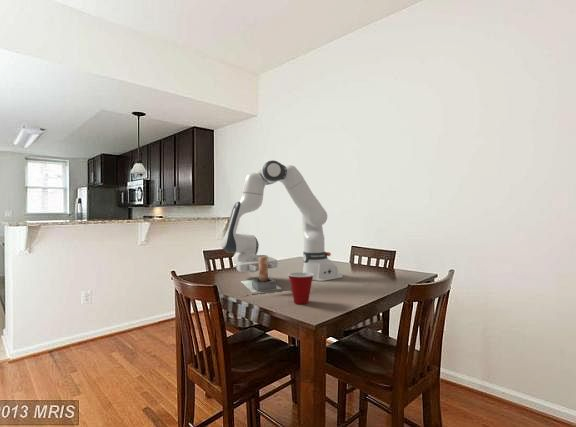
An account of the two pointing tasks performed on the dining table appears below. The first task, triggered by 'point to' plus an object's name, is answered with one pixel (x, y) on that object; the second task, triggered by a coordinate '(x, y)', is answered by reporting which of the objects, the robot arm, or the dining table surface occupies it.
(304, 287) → the plastic cup
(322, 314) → the dining table surface
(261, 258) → the peg
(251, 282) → the board
